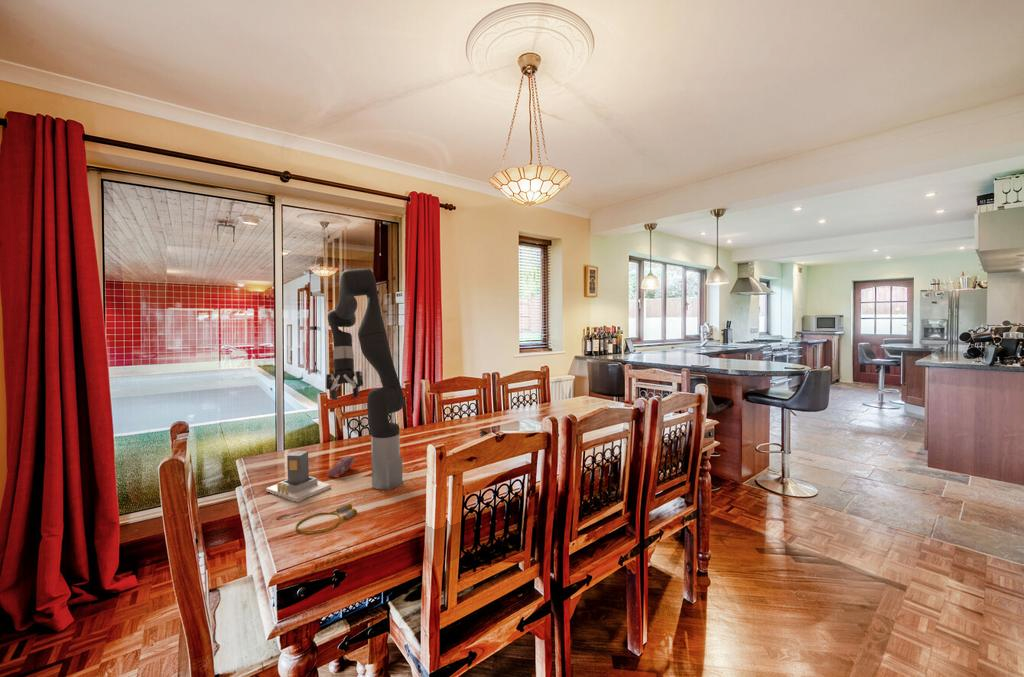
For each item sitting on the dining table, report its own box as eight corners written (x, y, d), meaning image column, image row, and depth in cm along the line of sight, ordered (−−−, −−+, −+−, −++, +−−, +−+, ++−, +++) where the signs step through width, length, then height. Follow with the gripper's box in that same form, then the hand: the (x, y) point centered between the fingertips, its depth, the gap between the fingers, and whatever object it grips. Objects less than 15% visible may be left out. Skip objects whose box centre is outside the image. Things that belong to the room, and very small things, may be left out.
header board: (330, 487, 136) (330, 477, 136) (296, 502, 125) (296, 490, 125) (300, 478, 143) (300, 468, 143) (266, 491, 133) (265, 480, 133)
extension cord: (359, 526, 112) (359, 519, 112) (294, 540, 105) (294, 532, 105) (355, 507, 123) (355, 501, 123) (296, 519, 116) (296, 512, 116)
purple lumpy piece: (335, 482, 144) (343, 465, 143) (325, 475, 145) (332, 459, 144) (351, 471, 154) (359, 456, 153) (341, 465, 155) (349, 450, 154)
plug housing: (309, 483, 136) (308, 451, 136) (300, 490, 131) (299, 456, 131) (296, 483, 137) (295, 451, 136) (287, 489, 132) (286, 456, 131)
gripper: (321, 359, 161) (322, 400, 159) (355, 355, 160) (357, 397, 158) (331, 360, 169) (333, 400, 166) (364, 357, 167) (366, 397, 165)
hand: (345, 398), depth 162 cm, fingers open, 8 cm apart
